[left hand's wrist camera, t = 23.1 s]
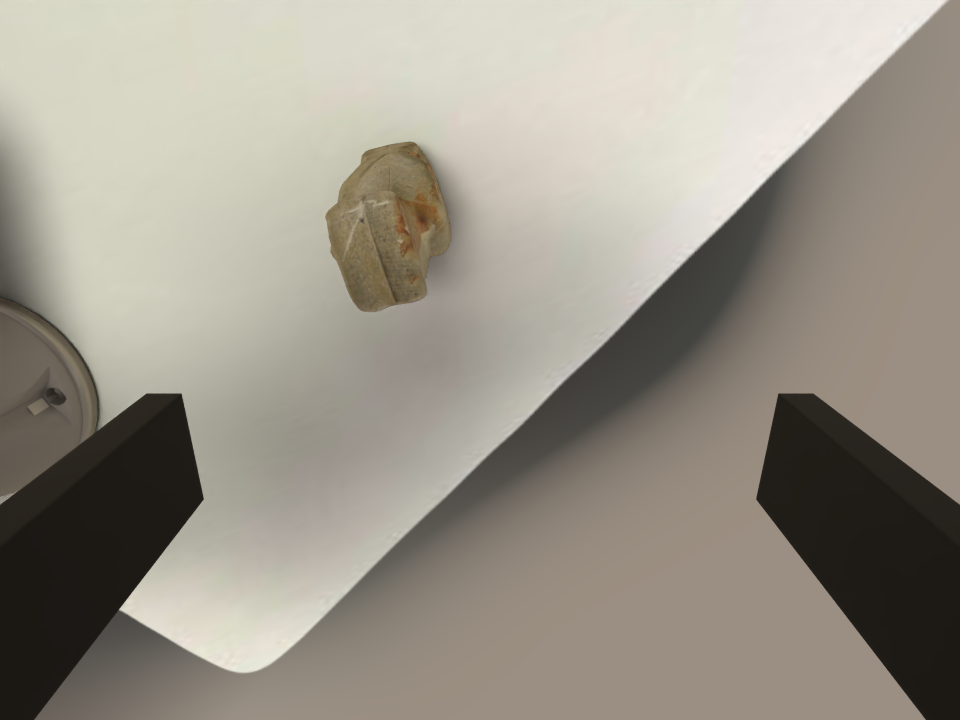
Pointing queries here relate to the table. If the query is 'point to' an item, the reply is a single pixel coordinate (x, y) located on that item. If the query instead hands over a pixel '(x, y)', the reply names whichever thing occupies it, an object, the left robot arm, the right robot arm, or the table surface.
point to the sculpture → (388, 227)
